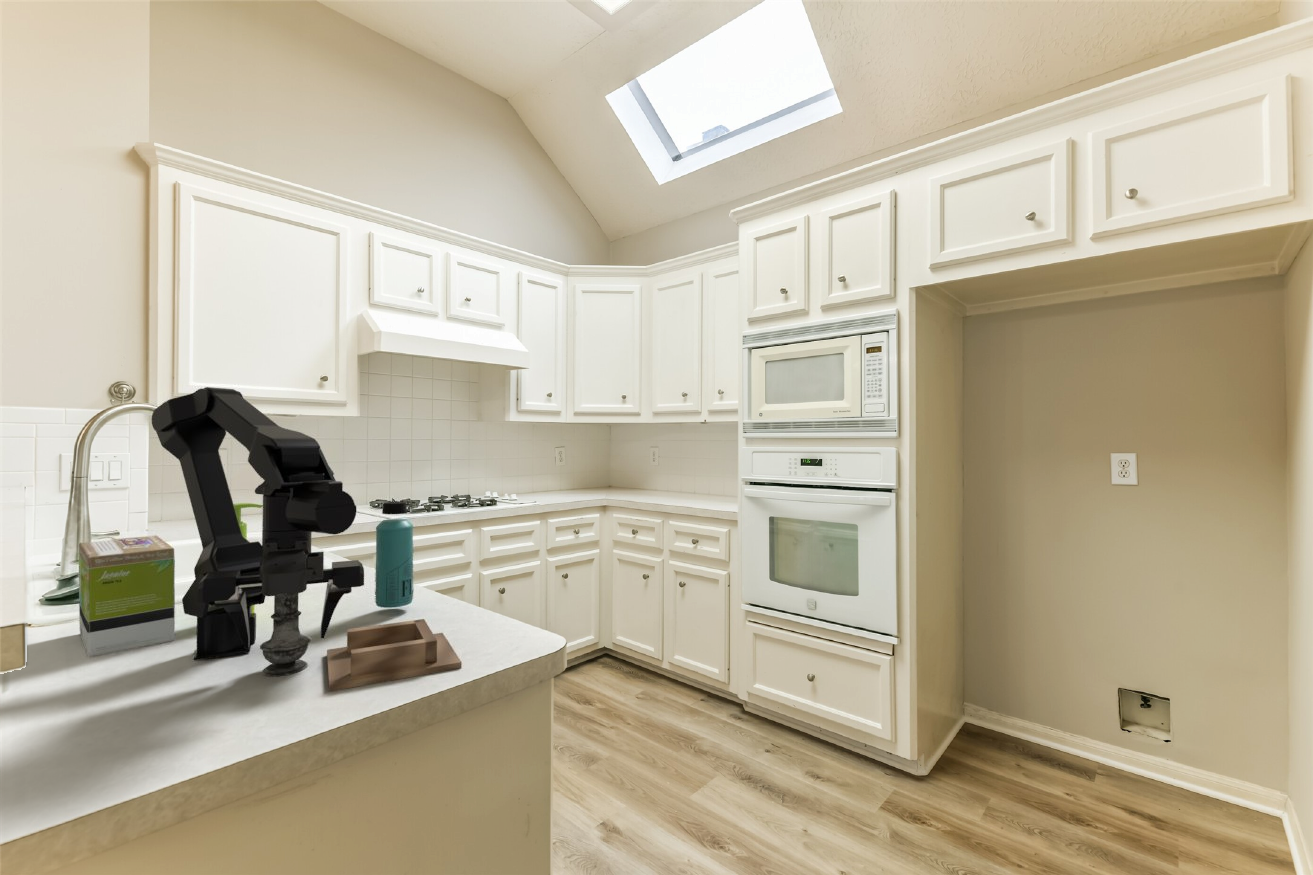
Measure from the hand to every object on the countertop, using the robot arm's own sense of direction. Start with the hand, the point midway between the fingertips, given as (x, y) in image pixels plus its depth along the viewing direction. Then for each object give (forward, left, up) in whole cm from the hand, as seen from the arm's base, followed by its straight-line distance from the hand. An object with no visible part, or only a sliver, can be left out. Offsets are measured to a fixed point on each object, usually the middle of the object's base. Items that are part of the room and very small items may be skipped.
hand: (285, 642), depth 81 cm
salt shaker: (0, 0, -4) cm, 4 cm away
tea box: (-22, +26, -4) cm, 34 cm away
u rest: (+13, -4, -4) cm, 14 cm away
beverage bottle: (+16, +22, -4) cm, 27 cm away
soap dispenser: (-8, +28, -4) cm, 29 cm away
